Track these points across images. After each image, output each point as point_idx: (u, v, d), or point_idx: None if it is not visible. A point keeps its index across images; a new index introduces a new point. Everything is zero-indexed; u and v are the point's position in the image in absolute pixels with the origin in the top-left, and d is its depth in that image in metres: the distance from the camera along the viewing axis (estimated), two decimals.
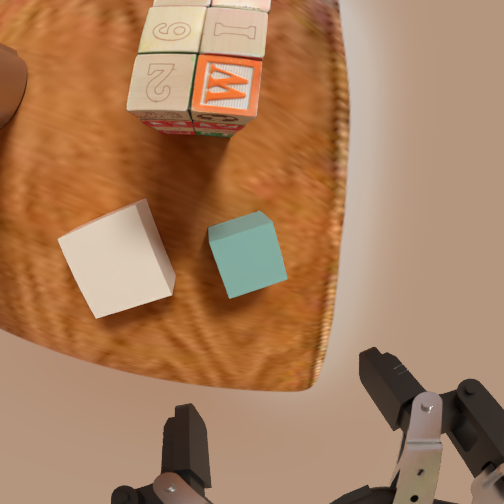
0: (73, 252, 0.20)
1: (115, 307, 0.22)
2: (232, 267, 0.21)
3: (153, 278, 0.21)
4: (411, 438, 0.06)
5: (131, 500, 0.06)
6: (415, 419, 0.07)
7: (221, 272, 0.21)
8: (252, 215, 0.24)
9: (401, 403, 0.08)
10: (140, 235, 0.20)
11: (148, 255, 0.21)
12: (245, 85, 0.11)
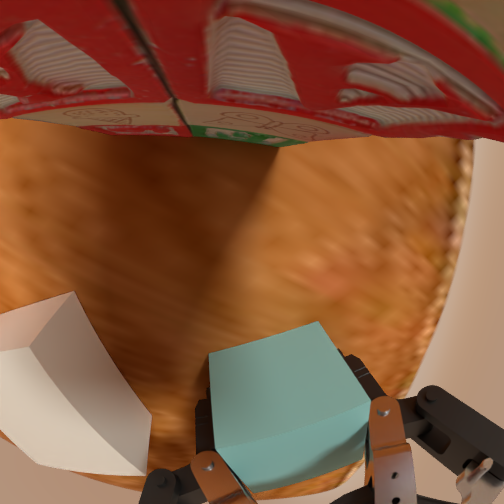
0: None
1: (59, 465, 0.08)
2: (265, 470, 0.08)
3: (107, 457, 0.08)
4: (375, 444, 0.06)
5: (168, 483, 0.06)
6: (369, 423, 0.07)
7: (241, 476, 0.08)
8: (306, 341, 0.11)
9: None
10: (59, 402, 0.07)
11: (86, 431, 0.07)
12: None
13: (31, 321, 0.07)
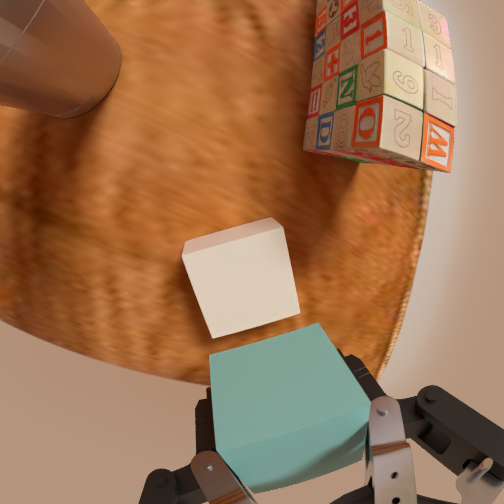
0: (201, 271, 0.21)
1: (239, 326, 0.23)
2: (265, 471, 0.08)
3: (286, 298, 0.23)
4: (375, 444, 0.06)
5: (168, 483, 0.06)
6: (368, 423, 0.07)
7: (242, 476, 0.08)
8: (306, 342, 0.11)
9: None
10: (283, 257, 0.22)
11: (287, 276, 0.22)
12: (446, 146, 0.13)
13: (262, 225, 0.23)
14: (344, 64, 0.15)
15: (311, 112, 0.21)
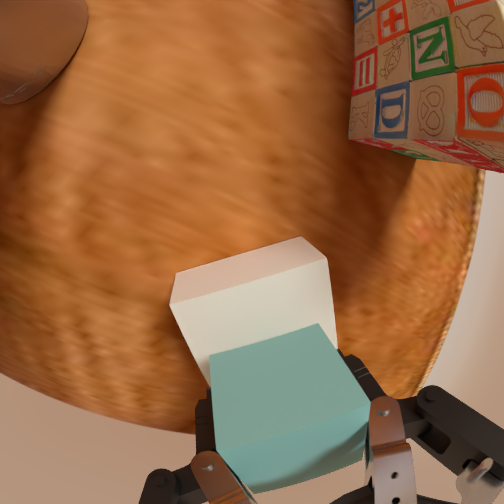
0: (201, 326, 0.13)
1: None
2: (265, 471, 0.08)
3: None
4: (375, 444, 0.06)
5: (168, 483, 0.06)
6: (369, 423, 0.07)
7: (242, 477, 0.08)
8: (306, 342, 0.11)
9: None
10: (324, 301, 0.14)
11: (327, 326, 0.15)
12: None
13: (291, 252, 0.15)
14: (418, 19, 0.07)
15: (360, 86, 0.14)
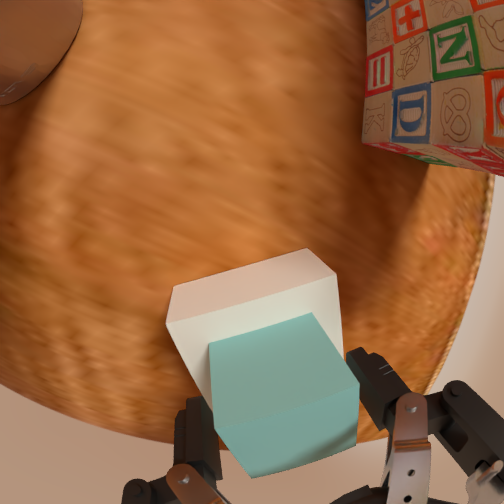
0: (200, 346, 0.12)
1: None
2: (262, 453, 0.08)
3: None
4: (398, 440, 0.06)
5: (144, 493, 0.06)
6: (398, 420, 0.07)
7: (239, 459, 0.08)
8: (300, 330, 0.12)
9: (385, 403, 0.08)
10: (331, 319, 0.13)
11: (334, 345, 0.14)
12: None
13: (297, 266, 0.14)
14: (438, 17, 0.06)
15: (374, 87, 0.13)
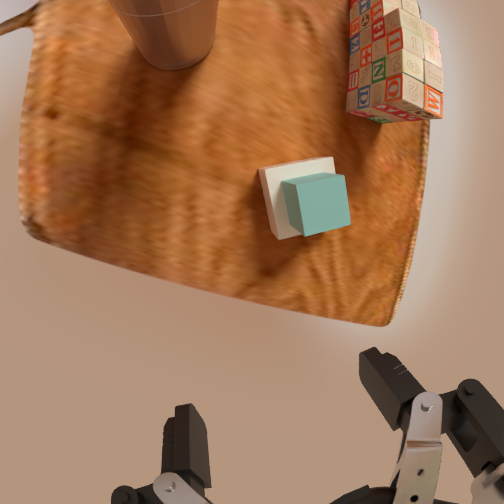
0: (277, 182, 0.29)
1: None
2: (311, 208, 0.25)
3: None
4: (411, 438, 0.06)
5: (131, 500, 0.06)
6: (415, 419, 0.07)
7: (302, 211, 0.25)
8: (320, 174, 0.28)
9: (401, 403, 0.08)
10: None
11: None
12: (438, 103, 0.21)
13: (316, 158, 0.30)
14: (375, 57, 0.23)
15: (351, 87, 0.29)
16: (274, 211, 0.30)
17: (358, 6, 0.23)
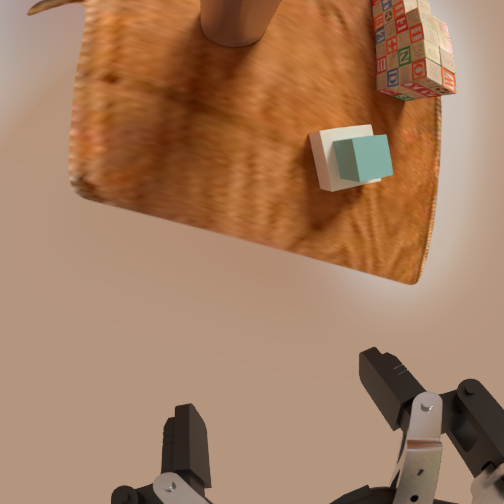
0: (329, 142, 0.32)
1: (348, 184, 0.34)
2: (363, 159, 0.28)
3: None
4: (411, 438, 0.06)
5: (131, 500, 0.06)
6: (415, 419, 0.07)
7: (357, 161, 0.28)
8: (363, 136, 0.31)
9: (401, 403, 0.08)
10: None
11: None
12: (452, 82, 0.23)
13: None
14: (400, 45, 0.26)
15: (380, 70, 0.32)
16: (328, 166, 0.33)
17: (380, 4, 0.26)
